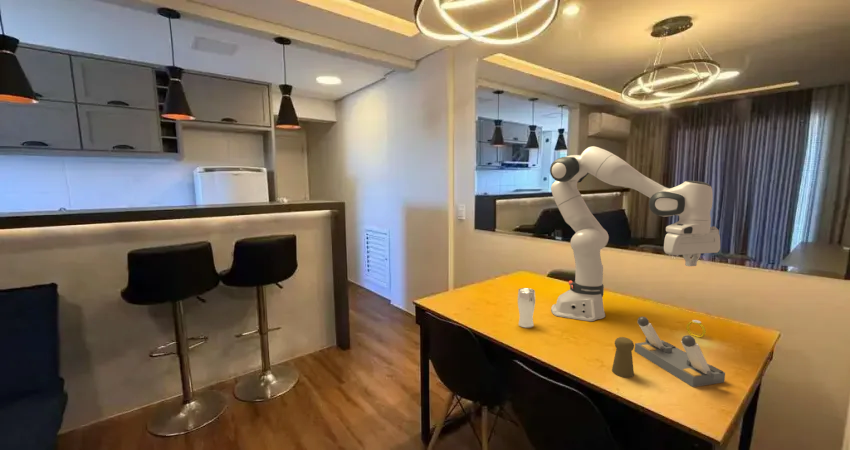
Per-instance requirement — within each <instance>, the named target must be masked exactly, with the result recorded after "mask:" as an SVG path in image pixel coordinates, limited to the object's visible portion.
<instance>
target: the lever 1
mask: <svg viewBox="0 0 850 450" xmlns="http://www.w3.org/2000/svg"><path fill="white" fill-rule="evenodd" d="M637 324H638V325H639V328H640V329H641V331H642V333H643V334H644V336H645V339H646V338H647V339H648V342H649V343H650V344H652V345H653V346H655V347H657V348H659V349H662V350H663V351H664V345H663V343H662V342H661V340H662V339H661V338H660V336H659V335H658V333H657V332H656V329H655V328H654V327H653V325H652V323H650V322H649V319H648V317H646V316H639V317H638V318H637Z"/></svg>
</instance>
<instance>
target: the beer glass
mask: <svg viewBox="0 0 850 450" xmlns="http://www.w3.org/2000/svg"><path fill="white" fill-rule="evenodd" d="M535 305H536V291H535V289H533V288H529V287H522V288H519V289H518V293H517V307H518V314H519V320H518V326H519V327H521V328H523V329H531V328H533V327H534V326H535V325H534V321H533V320H534V317H533V316H534V311H535V308H536V307H535Z"/></svg>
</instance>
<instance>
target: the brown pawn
mask: <svg viewBox="0 0 850 450" xmlns="http://www.w3.org/2000/svg"><path fill="white" fill-rule="evenodd" d="M614 345H615V353H614V358H613V364H612V366H611V371H612V374H614V375H615V376H618V377H620V378H626V379H629V378H633V377H634V376H635V373H634V361H633V350H634V349H635V344H634V342H633V340H632V339H630V338H627V337H623V336H618V337H616V339H615V340H614Z"/></svg>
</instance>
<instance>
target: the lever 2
mask: <svg viewBox="0 0 850 450" xmlns="http://www.w3.org/2000/svg"><path fill="white" fill-rule="evenodd" d="M680 343H681V345H682V348H683V349H684V352H686V353H687V356H688V358H689V360H690V362H691V366H693V367H694V368H695V369H697V370H699V371H701V372H703V373H704V374H707V375H709V376H711V373H712V372H710V368H709V366H708V364H709V363H707V360H706V358H705V356H704V354H703V352H702V349H701V347H700V345H699V343H696V339H695V337H694V336H693V335H690V334H689V335H686V334H685V335H684V336H683V337H682V338H681V340H680Z"/></svg>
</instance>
